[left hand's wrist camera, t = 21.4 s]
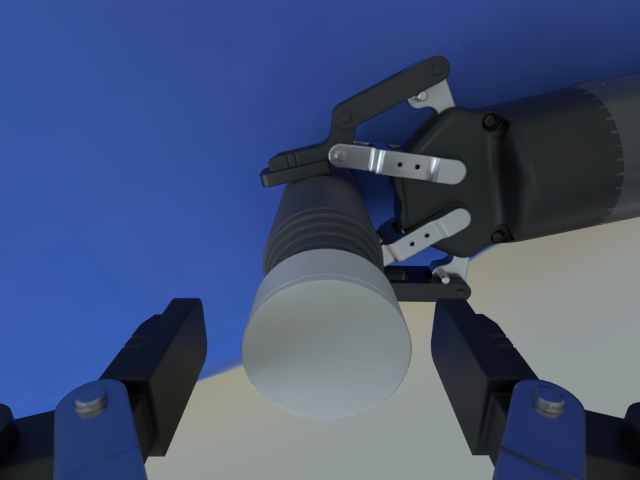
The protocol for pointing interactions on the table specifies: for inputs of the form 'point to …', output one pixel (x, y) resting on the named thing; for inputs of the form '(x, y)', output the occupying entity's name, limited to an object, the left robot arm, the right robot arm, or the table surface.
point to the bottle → (322, 220)
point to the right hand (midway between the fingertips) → (277, 224)
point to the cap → (326, 336)
